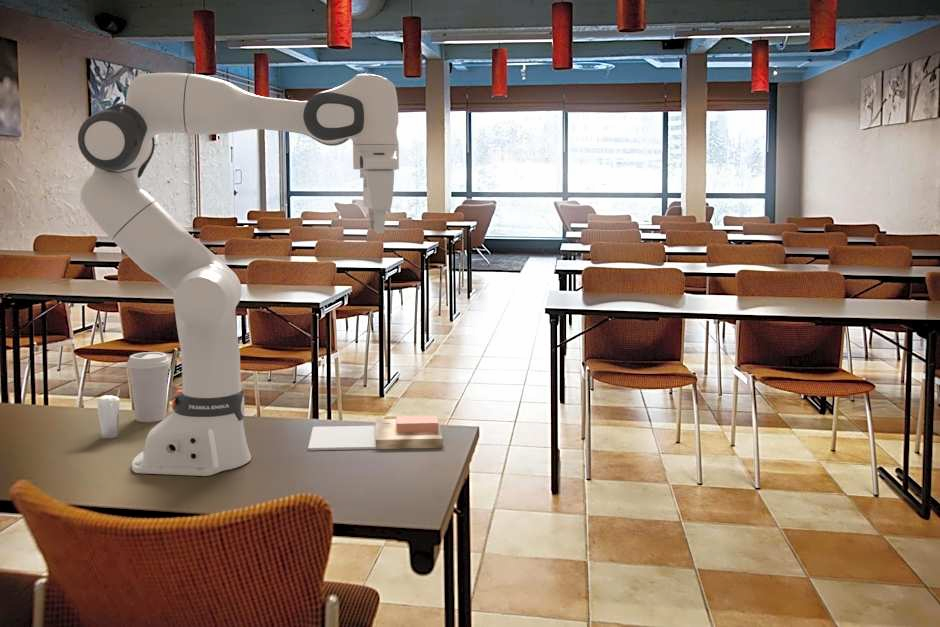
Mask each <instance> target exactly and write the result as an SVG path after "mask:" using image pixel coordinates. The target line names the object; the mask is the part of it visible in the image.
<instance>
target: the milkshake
mask: <svg viewBox="0 0 940 627" xmlns="http://www.w3.org/2000/svg"><path fill="white" fill-rule="evenodd" d="M120 392H121V388H119V389H118V391H117V395H116V396H115V395H111V394H110V395H108V394H107V395H106V394H105V395H103V396H100V397H98V398H97V399H96V406H97V412H98V420H99V427H100V434H101V438H102V439H107V440H109V439H114V438H118V436H119V413H120V398H119V396H120Z"/></svg>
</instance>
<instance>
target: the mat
mask: <svg viewBox="0 0 940 627" xmlns="http://www.w3.org/2000/svg"><path fill="white" fill-rule="evenodd" d="M337 450H338V451H341V450H343V451H344V450H345V451H347V450H349V451H350V450H377V449H376V425H347V426H346V425H345V426H344V425H343V426H340V425H339V426H336V425H335V426H334V425H333V426H331V425H330V426H313V427H312V430H311V434H310V437H309V443H308V447H307V451H337Z"/></svg>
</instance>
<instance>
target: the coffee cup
mask: <svg viewBox="0 0 940 627" xmlns="http://www.w3.org/2000/svg"><path fill="white" fill-rule="evenodd" d="M170 365H171V359H170V358H169V357H168V355H167V353H165V352H161V351H148V352H138V353H133V354H131V355H129V358H128V360H127V363H126V367H127V368H128V372H129V377H130V385H131V391H132V399H133V407H134V415H135V420H136V421H137V422H140V423H155V422H161V421H162V420H164V419H165V418H166V417H167V416H166V414H167V393H168V379H169V378H168V377H169V366H170Z"/></svg>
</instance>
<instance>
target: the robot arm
mask: <svg viewBox="0 0 940 627" xmlns="http://www.w3.org/2000/svg"><path fill="white" fill-rule="evenodd" d="M397 93H398V92H397V89H396V86H395V84H394V83H393V82H392V81H391V80H390V79H389V78H387V77H383V76H381V75H378V74H377V75H376V74H371V73H357V74H356V75H355V76H354V77H352V78H351V79H349V80H348V81H346V82H345V83H343V84H341V85H338V86H336V87H333V88H331V89H327V90H323V91H320V92H318V93H316V94H313V96H312V97H310V98H309V100H301V101H300V100H292V99H283V98H276V97H275V98H274V97H267V96H266V97H265V96H260V95H256V94H254V93H250V92H248V91H246V90H244V89H242V88H240V87H238V86H237V85H236V84H233V83H232V82H228V81H225V80H223V79H220V78H216V77H214V76H213V77H211V76H207V75H203V74H198V73H197V74H196V73H185V72H153V73H151V72H150V73H143V74H142V73H141V74H139V75H137V76H135V77H133V79H132V80H131V81H130V83H129V85H128V88H127V90H126V96H125V97H126V98H125V103H123V102H118V103H115V104H113V105H111V106H108V107H107V108H104V109H101V110H99V111H96V112H95V113H94V114H92V115H90V116H89V117H87V118H86V119H85V120H84V121H83V123H82V124H81V125H80V127H79V131H78V135H77V145H78V147H79V151H80V153H81V154H82V156H83V157H84V158H85V160H86V161H87V162H88V163H89V164H91V166H93V167H94V169H93V173H92V175H90V176H89V177H88V178H87V179H86V181H85V182H84V183H83V185H82V188H81V190H80V195H79V196H80V201H81V203H82V205H83V207H84V208H85V209H86V211H87V212H88V213H89V215H90V216H91V218H92V219H93V221H94V222H95V223H96V224H97V225H98V227H99V228H100V229H101V230H102V231H103V232H104V233H105V234H106V235H107V236H108V237H109V239H110V240H112V242H113V243H115V245H117V246H118V248H120V249H121V251H123V253H124V254H126V255H127V256H128V258H130V259H131V260H132V261H133V262H134V263H135V264H136V265H137V266H138V267H139V268H140V269H141V270H142V271H143V272H144V273H146V274H148V275H149V276H151V277H153V278H154V279H156V280H157V281H159V283H161V284H162V285H163V286H165V287H166V288H167V289H169V290H170V291H172V293H173V307H174V312H175V314H174V315H175V322H176V329H177V336H178V341H179V343H178V344H179V348H180V355H181V376H182V378H181V380H182V388H181V389H178V390H176V392H175V393H174V394H173V397H172V400H171V406H172V412H171V413H170V414H169V415H167V416H166V418H165V419H163V420H161V421H159V423H157V424H156V425H155V426H154V427H152V429H151V430H149V432H148V434H147V436H145V437H146V438H145V442H144V445H143V451H141V452H139V453H138V454H137V455H136V456H135V457H134V458H133V460H132V462H131V470H132V472H134V474H136V473H137V474H152V475H154V474H155V475H173V476H174V475H175V476H198V477H200V476H201V477H208V476H212V475H213V476H214V475H216V474H218V473H220V472H223V471H227V470H233V469H236V468H239V467H242V466H244V465H245V464H247V463H249V462H250V461H251V460H252V455H251V453H250V450H249V446H248V442H247V438H246V432H245V426H244V425H245V424H244V418H245V396H244V390H243V389H242V379H241V373H242V372H241V354H240V353H241V351H240V346H239V345H240V344H239V338H238V329H237V319H236V309H237V308H236V307H237V306H238V305H239V303H240V300H241V297H242V284H241V281H240V278H239V277H238V276H237V274H236V272H235V271H233V270H232V269H231V268H230V267H229V266H228V265H227V264H225V262H223V260H222V259H220V257H218V256H217V255H215V253H214V252H212V251H211V250H210V249H209V248H208V247H206V246H205V245H204V244H203V243H201V242H200V241H199V240H198V239H197V238H195V237H194V236H193V235H192V234H190V233H189V231H187V230H186V228H184V227H183V225H181V224H180V223H179V222H178V220H176V219H175V218H174V217H173V216H172V215H171V213H169V212H168V211H167V210H166V209H165V208H164V207H163V206H162V204H161V203H159V202H158V201H157V200H156V199H155V198H154V197H153V196H152V195H151V194H150V193H149V192H148V191H147V190H146V188H145V187H144V186H143V185H142V183H141V182H140V180H139V179H140V178H141V177H142V175H143V173H144V171H145V169H146V167H147V166H148V164H149V163H150V161H151V159H152V157H153V155H154V151H155V148H156V147H155V146H156V145H155V144H156V142H155V141H156V140H155V137H156V136H157V135H159V134H164V133H176V134H177V133H179V134H187V135H201V136H202V135H203V136H204V135H219V134H222V135H223V134H228V133H234V132H235V133H237V132H240V131H249V130H250V131H251V130H265V131H266V130H268V131H274V132H275V131H276V132H286V133H295V134H296V133H297V134H300V135H304V136H307V137H309V138H311V139H313V141H316V142H318V143H320V144H322V145H325V146H330V147H332V146H333V147H334V146H339V145H342V144H345V143H346V142H347V141H349V140H351V141H352V161H353V162H352V163H353V164H352V165H353V166H352V169H353V170H359V178H360V179H362V184H363V185H362V188H363V189H362V196H363V197H362V203H363V205H364V207H366V208H368V210H367V211H368V219H369V230H370V231H373V232H374V233H375V234H376V235H377V234H379V235H380V234H385V232H386V231H385V229H386V228H385V222H386V216H387V214H386V212H387V211H389V210H391V208H392V204H393V200H394V199H393V196H394V185H395V171H396V170H400V158H399V157H400V156H399V154H400V153H399V152H400V148H399V147H400V146H399V140H398V135H397V131H398V125H399V103H398V101H399V100H398V95H397Z"/></svg>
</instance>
